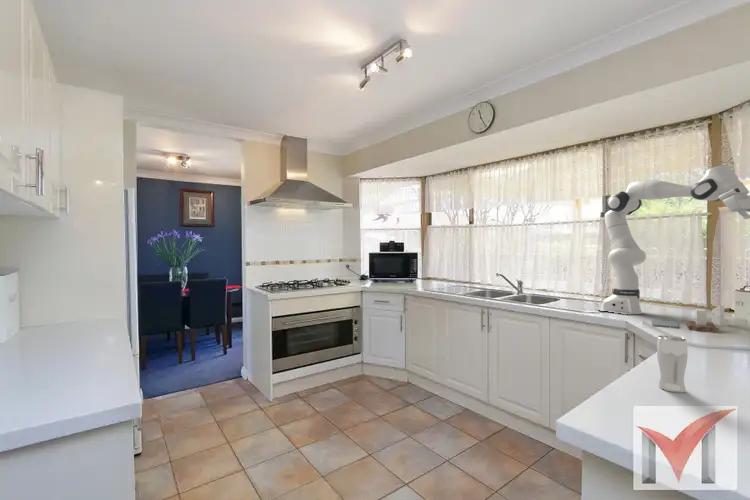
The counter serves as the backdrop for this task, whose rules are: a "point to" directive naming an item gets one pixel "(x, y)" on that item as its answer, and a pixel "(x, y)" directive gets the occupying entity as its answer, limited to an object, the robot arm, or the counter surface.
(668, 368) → the beer glass
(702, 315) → the plug
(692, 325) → the header collar
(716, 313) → the white wedge bracket
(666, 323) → the slate pad
